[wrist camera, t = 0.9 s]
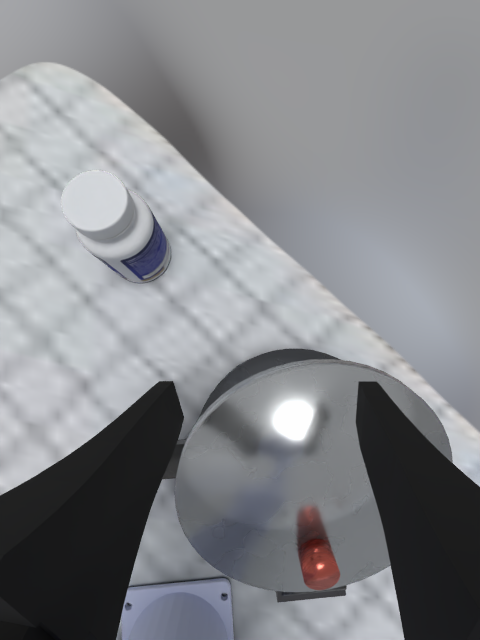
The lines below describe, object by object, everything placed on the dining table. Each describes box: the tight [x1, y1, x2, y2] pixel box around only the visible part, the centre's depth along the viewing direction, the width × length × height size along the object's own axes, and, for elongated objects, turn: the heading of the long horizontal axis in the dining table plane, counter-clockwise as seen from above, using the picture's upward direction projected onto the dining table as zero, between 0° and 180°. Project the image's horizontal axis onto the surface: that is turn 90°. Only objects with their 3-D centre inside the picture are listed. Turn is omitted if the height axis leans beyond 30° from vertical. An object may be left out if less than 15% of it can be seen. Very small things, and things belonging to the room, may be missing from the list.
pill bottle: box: [61, 170, 171, 283], centre depth 22 cm, size 5×5×9 cm
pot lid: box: [175, 359, 452, 596], centre depth 14 cm, size 14×14×2 cm
